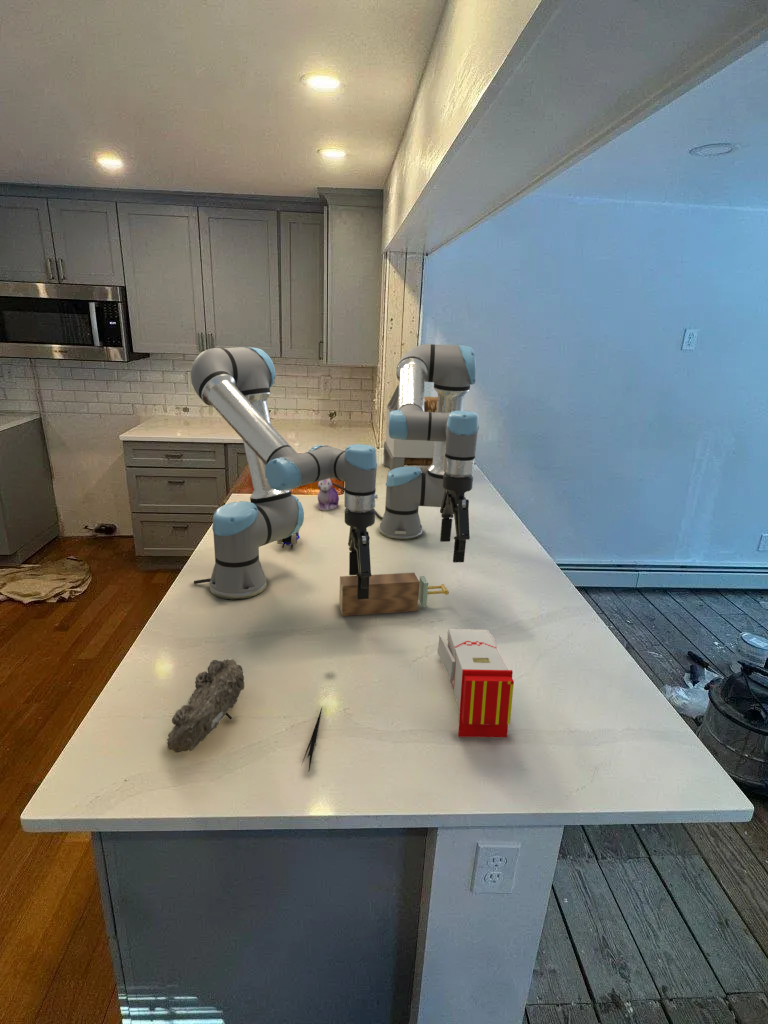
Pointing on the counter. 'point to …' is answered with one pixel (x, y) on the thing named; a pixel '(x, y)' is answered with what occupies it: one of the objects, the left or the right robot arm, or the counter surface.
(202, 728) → the fossil
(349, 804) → the counter surface
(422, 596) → the drawer
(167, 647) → the counter surface
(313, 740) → the feather
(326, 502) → the figurine
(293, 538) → the figurine character
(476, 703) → the toy
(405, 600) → the cabinet
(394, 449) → the transformer
